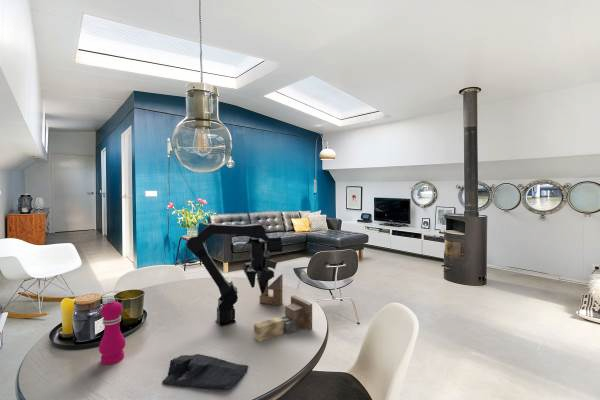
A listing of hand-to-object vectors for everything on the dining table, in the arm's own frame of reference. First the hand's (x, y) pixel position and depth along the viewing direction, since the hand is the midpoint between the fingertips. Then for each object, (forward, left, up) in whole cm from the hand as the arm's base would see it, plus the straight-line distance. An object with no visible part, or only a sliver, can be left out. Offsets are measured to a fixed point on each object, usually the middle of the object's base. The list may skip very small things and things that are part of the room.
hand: (257, 290), depth 126 cm
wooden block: (+14, +11, -12) cm, 21 cm away
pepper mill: (-52, +1, -12) cm, 54 cm away
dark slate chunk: (-31, -25, -13) cm, 42 cm away
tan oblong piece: (-2, -16, -12) cm, 20 cm away
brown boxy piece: (+8, -16, -12) cm, 21 cm away
